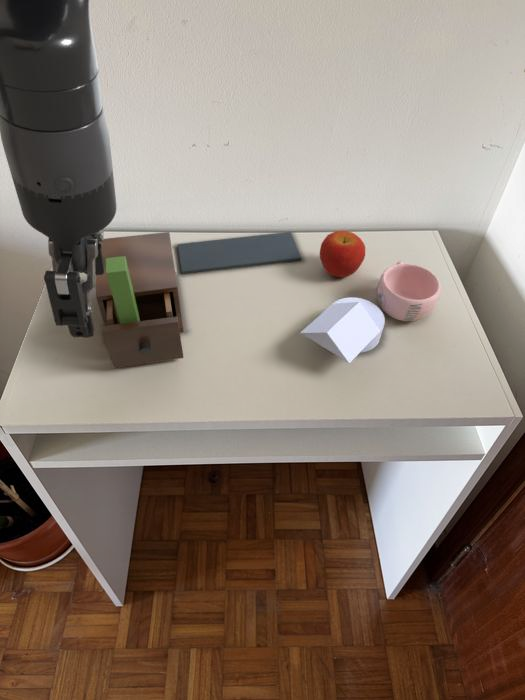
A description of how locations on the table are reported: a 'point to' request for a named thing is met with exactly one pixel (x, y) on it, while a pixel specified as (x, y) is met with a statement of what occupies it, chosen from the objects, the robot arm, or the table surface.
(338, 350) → the wedge on round base
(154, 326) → the drawer
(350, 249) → the apple
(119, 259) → the long green square beam
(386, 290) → the mug
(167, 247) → the cabinet
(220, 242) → the mat
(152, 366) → the table surface
